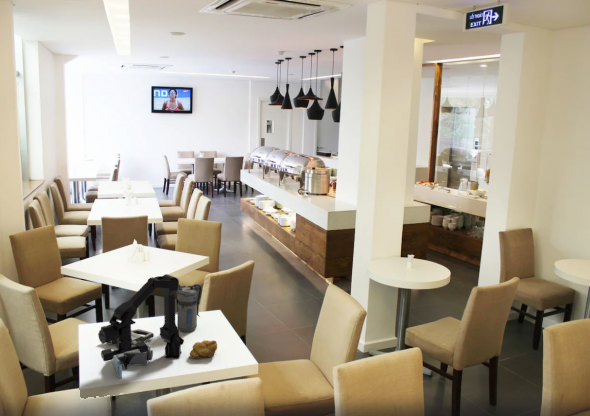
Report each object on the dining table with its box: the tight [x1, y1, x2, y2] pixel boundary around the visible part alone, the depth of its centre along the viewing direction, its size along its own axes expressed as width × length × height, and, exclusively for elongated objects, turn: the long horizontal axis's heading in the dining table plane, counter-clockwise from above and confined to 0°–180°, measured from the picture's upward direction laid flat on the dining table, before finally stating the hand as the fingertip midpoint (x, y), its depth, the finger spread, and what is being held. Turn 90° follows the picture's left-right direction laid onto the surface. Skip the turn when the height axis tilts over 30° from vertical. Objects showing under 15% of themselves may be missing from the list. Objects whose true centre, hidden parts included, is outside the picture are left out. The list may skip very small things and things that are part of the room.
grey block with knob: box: [112, 345, 154, 366], centre depth 229 cm, size 17×7×7 cm, turn 91°
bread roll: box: [189, 339, 218, 360], centre depth 238 cm, size 13×10×8 cm
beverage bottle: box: [175, 283, 202, 333], centre depth 266 cm, size 10×13×25 cm
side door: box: [112, 355, 123, 379], centre depth 219 cm, size 15×2×6 cm, turn 30°
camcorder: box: [107, 328, 155, 345], centre depth 249 cm, size 16×20×5 cm
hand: (125, 369), depth 217 cm, fingers closed
